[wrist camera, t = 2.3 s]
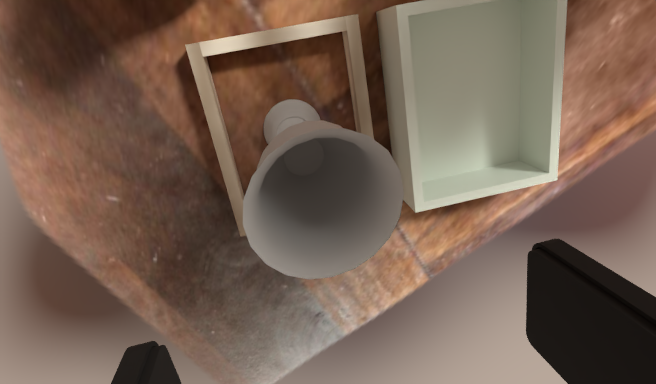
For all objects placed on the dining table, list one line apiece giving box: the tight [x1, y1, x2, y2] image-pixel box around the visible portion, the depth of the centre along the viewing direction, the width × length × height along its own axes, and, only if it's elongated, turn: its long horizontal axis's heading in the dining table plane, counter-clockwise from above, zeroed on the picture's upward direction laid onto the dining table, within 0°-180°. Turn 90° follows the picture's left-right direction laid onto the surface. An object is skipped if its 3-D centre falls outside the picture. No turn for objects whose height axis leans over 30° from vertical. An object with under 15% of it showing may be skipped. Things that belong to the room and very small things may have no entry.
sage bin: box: [376, 0, 567, 213], centre depth 32 cm, size 13×16×5 cm
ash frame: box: [185, 14, 374, 237], centre depth 32 cm, size 13×16×2 cm
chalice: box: [243, 99, 404, 279], centre depth 25 cm, size 7×7×18 cm
